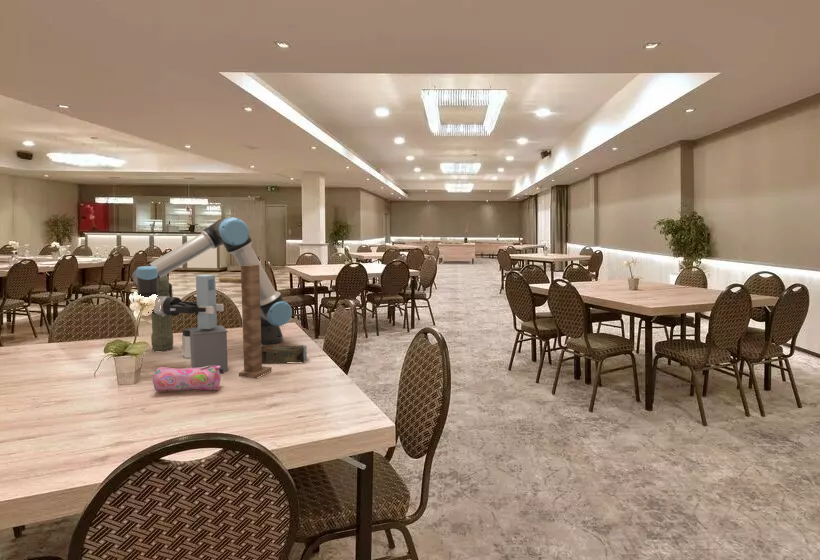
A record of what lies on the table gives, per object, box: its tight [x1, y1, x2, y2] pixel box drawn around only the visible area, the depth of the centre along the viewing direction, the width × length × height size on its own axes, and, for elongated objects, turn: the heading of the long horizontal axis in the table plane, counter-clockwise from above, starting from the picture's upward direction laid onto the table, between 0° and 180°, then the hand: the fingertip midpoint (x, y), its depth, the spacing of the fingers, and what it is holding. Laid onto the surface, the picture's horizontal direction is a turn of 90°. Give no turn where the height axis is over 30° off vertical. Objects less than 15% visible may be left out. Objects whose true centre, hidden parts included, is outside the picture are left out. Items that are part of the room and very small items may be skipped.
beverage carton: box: [261, 344, 308, 364], centre depth 212 cm, size 8×19×7 cm, turn 94°
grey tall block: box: [195, 274, 218, 329], centre depth 197 cm, size 5×5×21 cm
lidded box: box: [188, 325, 229, 372], centre depth 199 cm, size 13×13×16 cm
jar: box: [181, 326, 198, 359], centre depth 219 cm, size 9×8×12 cm
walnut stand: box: [218, 264, 273, 378], centre depth 193 cm, size 18×10×42 cm, turn 75°
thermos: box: [150, 274, 174, 352], centre depth 229 cm, size 9×12×35 cm
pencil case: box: [152, 365, 224, 393], centre depth 174 cm, size 21×9×9 cm, turn 99°
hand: (218, 309), depth 196 cm, fingers closed on grey tall block, 5 cm apart
